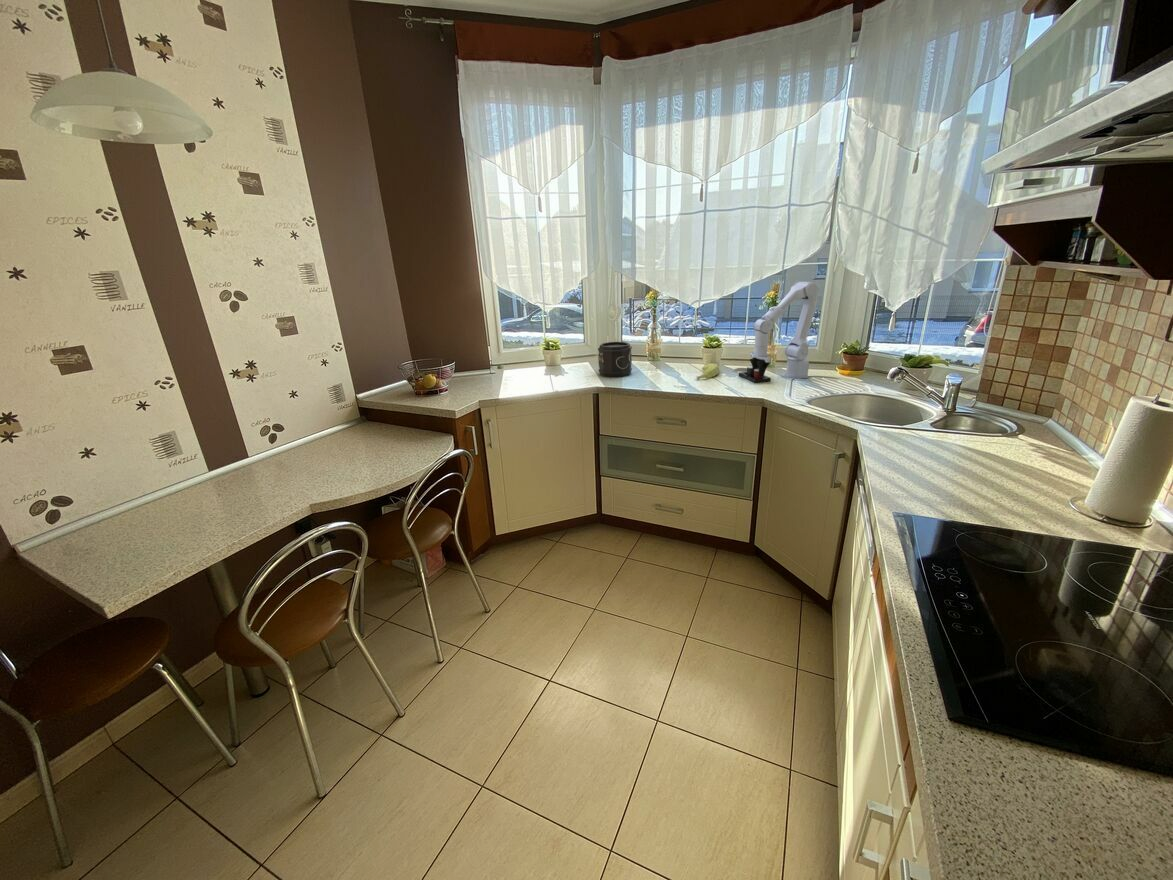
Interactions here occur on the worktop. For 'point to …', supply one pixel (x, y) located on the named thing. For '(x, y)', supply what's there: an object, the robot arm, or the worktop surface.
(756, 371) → the pod
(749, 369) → the pod
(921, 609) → the worktop surface
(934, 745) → the worktop surface
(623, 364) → the dark cylindrical canister
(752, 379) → the rack
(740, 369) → the coaster
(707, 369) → the pale green gourd
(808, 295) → the robot arm
